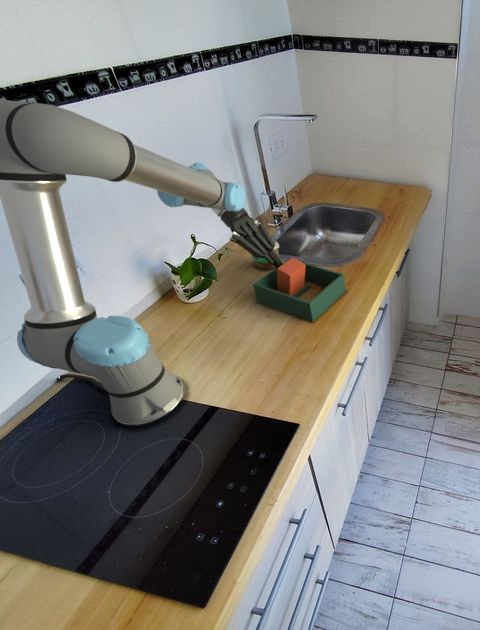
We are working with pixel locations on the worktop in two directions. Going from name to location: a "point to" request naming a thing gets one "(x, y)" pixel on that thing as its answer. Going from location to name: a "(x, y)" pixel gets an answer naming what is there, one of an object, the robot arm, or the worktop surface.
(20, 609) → the worktop surface
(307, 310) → the bin
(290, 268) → the carton
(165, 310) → the worktop surface
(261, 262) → the food container
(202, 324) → the worktop surface
